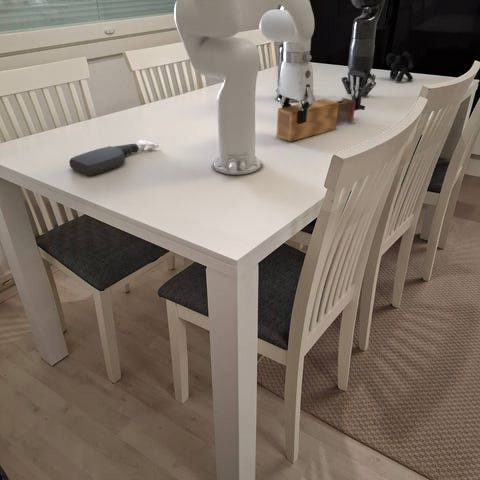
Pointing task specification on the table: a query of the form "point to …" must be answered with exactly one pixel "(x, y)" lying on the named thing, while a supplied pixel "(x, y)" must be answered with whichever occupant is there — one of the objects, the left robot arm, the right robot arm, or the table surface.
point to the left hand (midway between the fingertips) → (293, 119)
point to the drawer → (346, 110)
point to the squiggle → (399, 66)
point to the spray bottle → (106, 157)
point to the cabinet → (317, 122)
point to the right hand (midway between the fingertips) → (355, 108)
